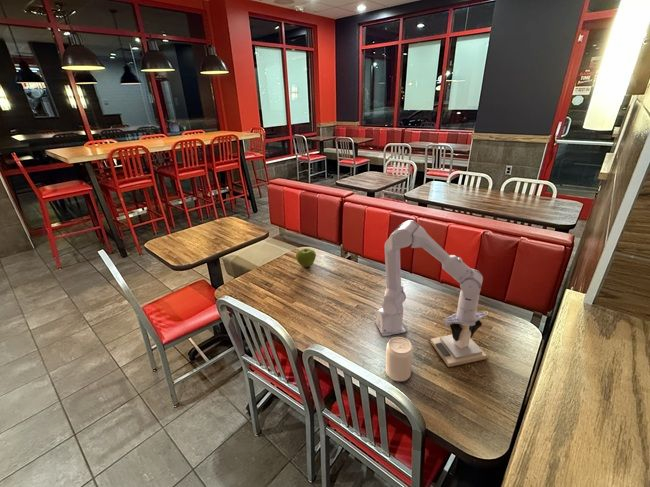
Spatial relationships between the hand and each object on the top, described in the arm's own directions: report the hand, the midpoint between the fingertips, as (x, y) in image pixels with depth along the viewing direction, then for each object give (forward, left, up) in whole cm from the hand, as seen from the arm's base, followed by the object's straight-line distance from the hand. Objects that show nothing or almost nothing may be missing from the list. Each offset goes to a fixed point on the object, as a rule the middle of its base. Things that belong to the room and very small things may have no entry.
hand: (461, 337), depth 107 cm
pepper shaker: (0, 0, -3) cm, 3 cm away
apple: (-43, +76, -6) cm, 88 cm away
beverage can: (-25, -4, -6) cm, 26 cm away
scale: (-1, 0, -6) cm, 6 cm away
